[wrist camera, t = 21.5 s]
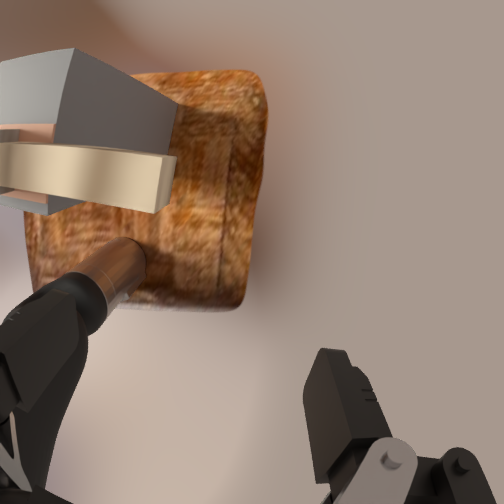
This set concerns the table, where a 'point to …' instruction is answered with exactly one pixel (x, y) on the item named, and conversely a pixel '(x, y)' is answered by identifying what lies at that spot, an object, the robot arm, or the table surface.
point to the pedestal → (78, 112)
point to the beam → (87, 172)
